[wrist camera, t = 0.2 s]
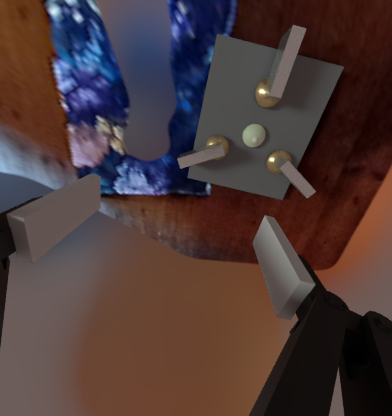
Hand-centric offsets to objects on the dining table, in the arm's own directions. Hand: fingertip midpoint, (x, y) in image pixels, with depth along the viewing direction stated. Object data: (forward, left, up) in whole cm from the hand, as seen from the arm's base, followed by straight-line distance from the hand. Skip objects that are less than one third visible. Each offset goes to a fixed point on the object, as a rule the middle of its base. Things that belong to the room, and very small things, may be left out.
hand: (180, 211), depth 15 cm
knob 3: (-1, +17, -25) cm, 31 cm away
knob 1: (-1, +1, -25) cm, 25 cm away
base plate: (-7, +9, -28) cm, 30 cm away
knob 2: (-15, +9, -25) cm, 31 cm away
